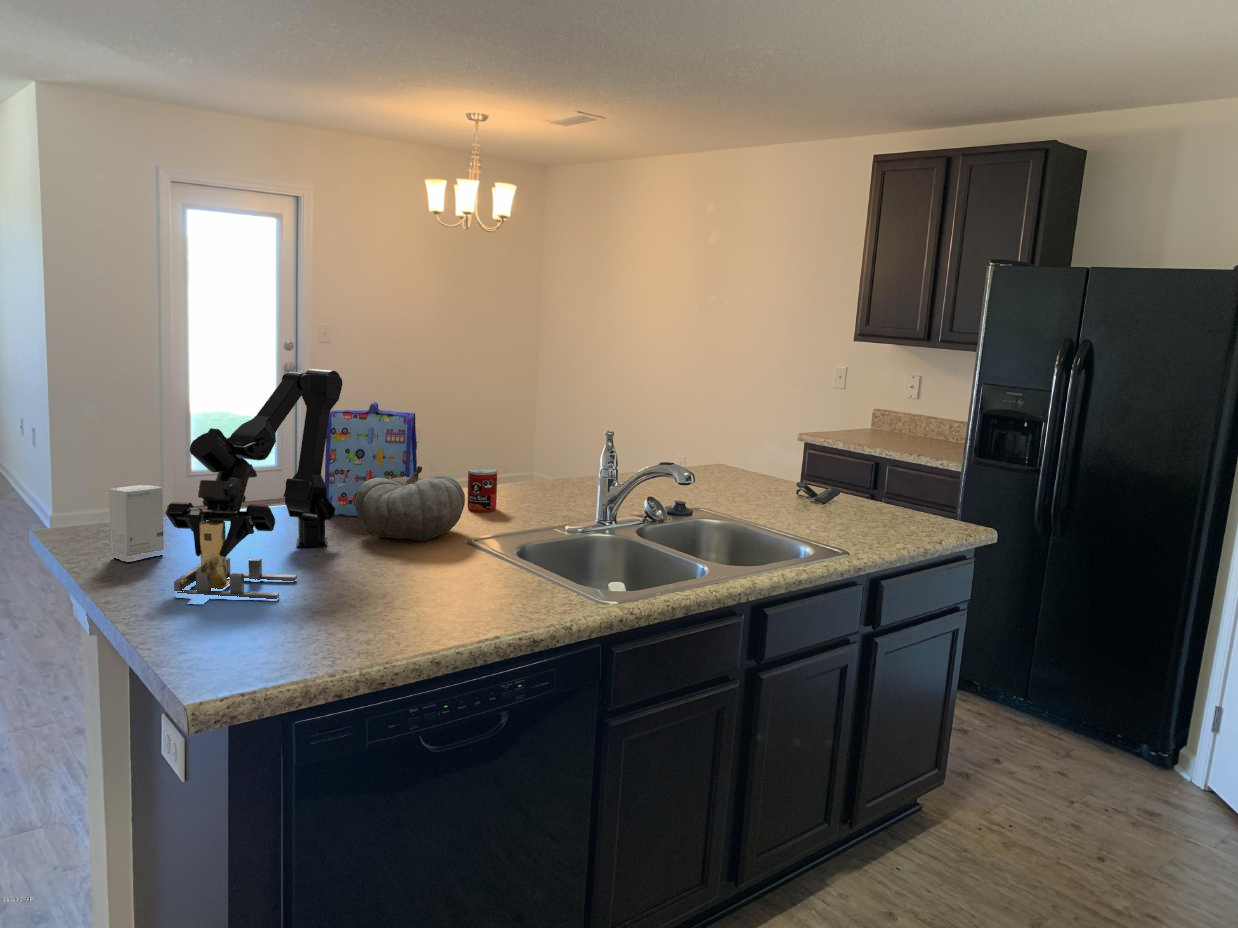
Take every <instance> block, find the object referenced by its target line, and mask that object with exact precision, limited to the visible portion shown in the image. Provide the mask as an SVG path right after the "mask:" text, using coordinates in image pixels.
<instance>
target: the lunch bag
mask: <svg viewBox="0 0 1238 928" xmlns="http://www.w3.org/2000/svg"><path fill="white" fill-rule="evenodd" d="M416 430H417V428H416V412H408V411H407V412H404V411H403V412H402V411H393V410H384V409H383V410H382V409H380V408H379V403H378V402H377V401H374V402H372V403H371V404H370V405H369V408H368V409H366V410H364V409H363V410H359V409H358V410H356V409H355V410H349V409H345V410H344V409H343V410H330V414H329V421H328V428H327V435H326V443H325V454H324V456H325V459H324V460H325V461H324V483H325V485H326V498H327V499H328V500H329V501H330V503H331V504H332V505H333V506H334V507H335V513H334V516H345V517H359V516H358V514H357V511H356V507H355V500H356V495H357V492H358V489H359V488H360V486H361V485H362V484H363V483H364V482H366V481H368V480H370V479H374V478H386V479H392V478H398V477H410V476H411V475H412V474H414V472H415V471H417V467H418V466H417V464H418V461H417V459H418V458H417V450H418V442H417V431H416Z"/></svg>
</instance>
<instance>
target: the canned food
mask: <svg viewBox="0 0 1238 928" xmlns="http://www.w3.org/2000/svg"><path fill="white" fill-rule="evenodd" d="M497 488H498V470H497V469H496V468H493V467H484V466H483V467H482V466H479V467H478V466H477V467H472V468H468V471H467V509H468V511H470V512H472V513H492V512H494V511H495V510H496V509H497V500H498V499H497V495H498V494H497V493H498V489H497Z"/></svg>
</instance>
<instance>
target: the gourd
mask: <svg viewBox="0 0 1238 928" xmlns="http://www.w3.org/2000/svg"><path fill="white" fill-rule="evenodd" d="M421 472H423V467H422V466H420V465H418V466H417V471H415V472H414V474H412V475H411V476H410V477H398V478H392V479H386V478H374V479H370V480H368V481H366V482H364V483H363V484H362V485H361V486H360V488H359V489H358V492H357V495H356V500H355V507H356V511H357V514H358V516H357V517H358V518H359V520H360V522H361V523H362V525H364V527H365V528H366V529H367V530H368V531H370V533H371V534H373V535H374V536H376V537H380V538H392V539H397V540H402V539H405V540H406V539H410V540H412V541H416V542H418V541H419V542H424V541H428V540H431V539H435V538H436V537H437V536H441V535H444V534H445V533H447V532H449V531H450V530H452V529H453V528H454V527H455V526H456V525H457V524H458V522H459V520H460V519H461V516H462V513H463V512H464V508H465V505H466V495H465V491H464V489H463V488H462V486H461V484H460V483H459V482H458V481H457V480H456V479H455V478H453V477H451V476H450V475H445V474H436V475H433V476H431V477H428V478H421V477H419V475H420V474H421Z"/></svg>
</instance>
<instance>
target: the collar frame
mask: <svg viewBox="0 0 1238 928" xmlns="http://www.w3.org/2000/svg"><path fill="white" fill-rule="evenodd" d="M262 559H263V558H254V557H253V558H250V559H248V572H247V573H246V572H245V573H243V572H242V573H239V572H236V573H235V572H231V557H226V563H227V578H228V577H230V587H229V591H228V590H225V591H211V580H210V573H204V572H201V563H200V564H197V565H196V566H194V567H192V568H191V569H190V570H189V571H187V572H185V573H183V575H181V576H180V577H179V578H177V579H176V580H174V581H173V590H174V591H182V592H177V593H187V594H204V595H218V596H219V595H220V596H237V597H238V596H239V597H249V598H266V599H277V598H279V599H280V592H267V591H266V592H263V591H245V582H244V578H249V579H255V580H256V579H257V580H260V579H267V580H282V581H294V582H295V580H296V579H297V580H298V574H276V573H273V574H272V573H263V564H262V563H263V561H262ZM194 581H196V586H195V587H196V589H193V590H192V589H191V590H182V589H184V588H185V587H186V586H188V585H190V584H191V583H193V582H194ZM295 583H296V582H295ZM196 590H197V591H196ZM174 591H173V592H174ZM183 591H184V592H183Z"/></svg>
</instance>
